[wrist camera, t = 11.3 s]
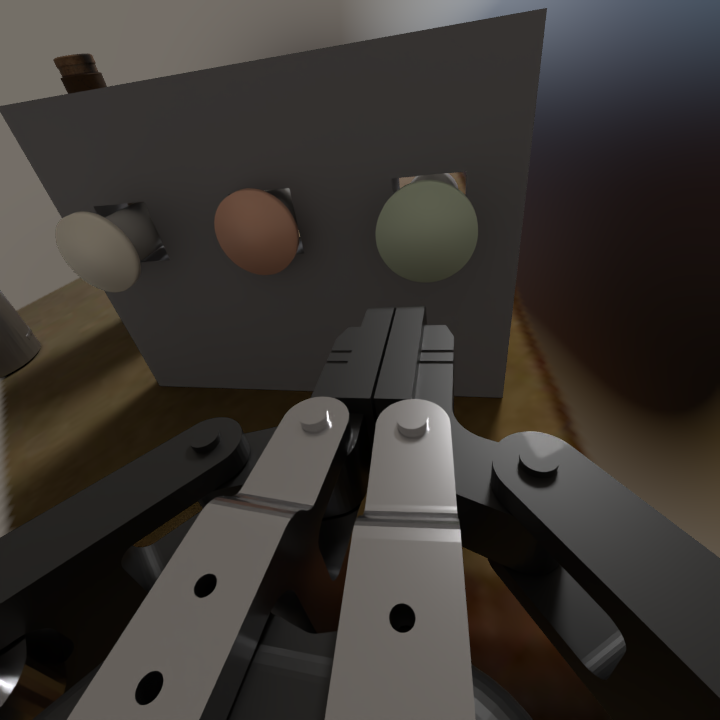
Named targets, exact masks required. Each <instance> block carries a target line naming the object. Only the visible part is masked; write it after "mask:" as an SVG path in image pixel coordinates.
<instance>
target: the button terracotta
mask: <svg viewBox="0 0 720 720" xmlns="http://www.w3.org/2000/svg"><path fill="white" fill-rule="evenodd" d="M214 226H215V233H216V236H217V239H218V242H219V244H220V246H221V248H222V249H223V251H224V252H225V254H226V255H227V256H228V257H229V258H230V259H231V260H232V261H233V262H234V263H235V264H236V265H238V266H239V267H241V268H242V269H244V270H246V271H248V272H251V273H254V274H258V275H272V274H276V273H278V272H280V271H282V270H284V269H285V268H286V267H287V266H288V265H289V264H290V263H291V261H292V260H293V259H294V257H295V255H296V253H297V250H298V246H299V232H298V230H299V229H298V224H297V220H296V215H295V211H294V207H293V202H292V198H291V194H290V189H289V188H285V189H274V190H265V191H263V190H259V189H253V188H246V189H240V190H238V191H235V192H234V193H232V194H230V195H229V196H227V197H226V198H225V199H224V200H223V201H222V202H221V203H220V205H219V206H218V208H217V211H216V214H215V220H214Z"/></svg>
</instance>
